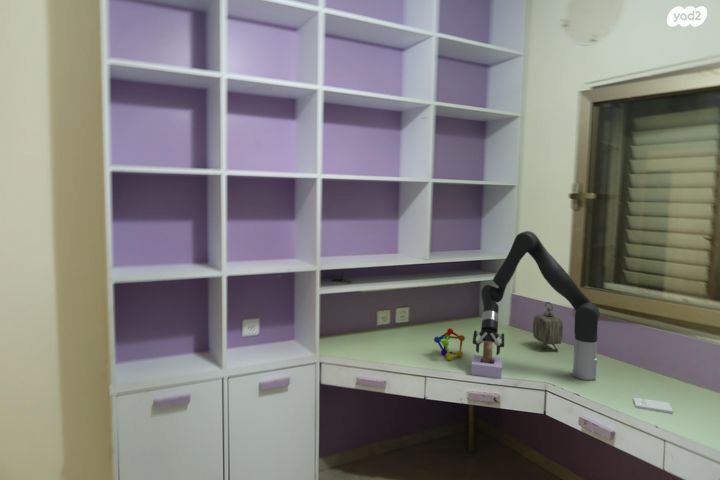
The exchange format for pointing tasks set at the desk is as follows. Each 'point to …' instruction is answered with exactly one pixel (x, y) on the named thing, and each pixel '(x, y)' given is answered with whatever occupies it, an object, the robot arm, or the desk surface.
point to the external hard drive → (653, 405)
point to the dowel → (487, 352)
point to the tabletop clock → (548, 328)
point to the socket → (486, 367)
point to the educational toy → (445, 343)
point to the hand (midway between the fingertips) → (487, 353)
